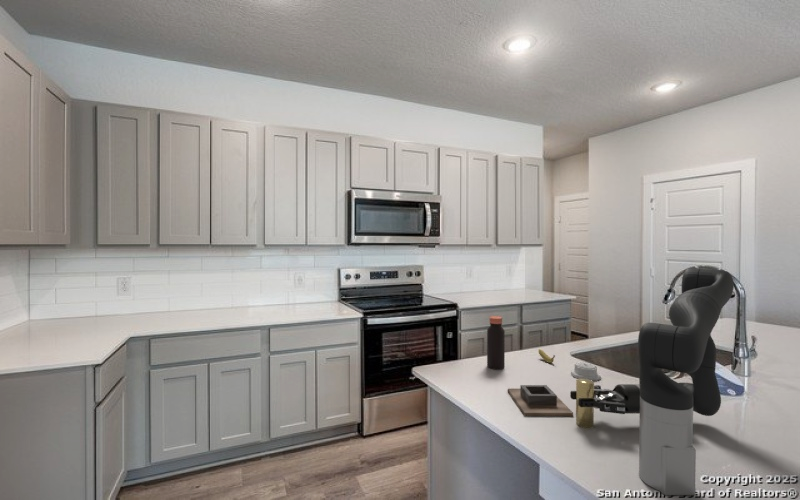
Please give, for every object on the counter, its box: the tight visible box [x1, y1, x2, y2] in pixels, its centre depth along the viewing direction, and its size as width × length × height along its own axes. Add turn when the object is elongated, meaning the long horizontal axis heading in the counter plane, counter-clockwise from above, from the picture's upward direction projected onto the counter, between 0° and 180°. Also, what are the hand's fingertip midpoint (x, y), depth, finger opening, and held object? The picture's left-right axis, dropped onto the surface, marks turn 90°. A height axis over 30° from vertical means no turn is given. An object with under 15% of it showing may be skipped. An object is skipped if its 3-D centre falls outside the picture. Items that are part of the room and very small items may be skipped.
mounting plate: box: [507, 384, 574, 417], centre depth 120 cm, size 18×14×4 cm
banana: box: [538, 349, 556, 364], centre depth 161 cm, size 10×2×4 cm, turn 15°
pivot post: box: [575, 378, 595, 429], centre depth 106 cm, size 4×4×12 cm
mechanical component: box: [570, 361, 602, 382], centre depth 143 cm, size 10×4×10 cm
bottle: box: [486, 315, 506, 370], centre depth 154 cm, size 7×7×20 cm
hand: (575, 398), depth 106 cm, fingers closed on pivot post, 4 cm apart
